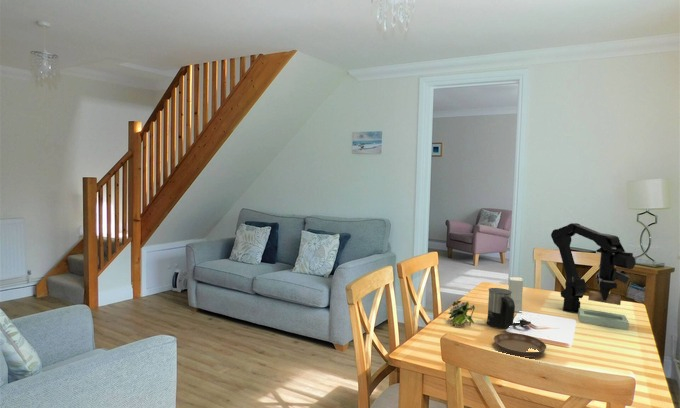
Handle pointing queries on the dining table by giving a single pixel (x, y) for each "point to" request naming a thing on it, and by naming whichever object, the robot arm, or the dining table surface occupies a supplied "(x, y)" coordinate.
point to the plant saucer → (519, 344)
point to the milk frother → (501, 309)
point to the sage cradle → (603, 318)
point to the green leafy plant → (461, 313)
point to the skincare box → (516, 292)
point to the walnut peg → (610, 299)
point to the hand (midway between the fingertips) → (604, 299)
